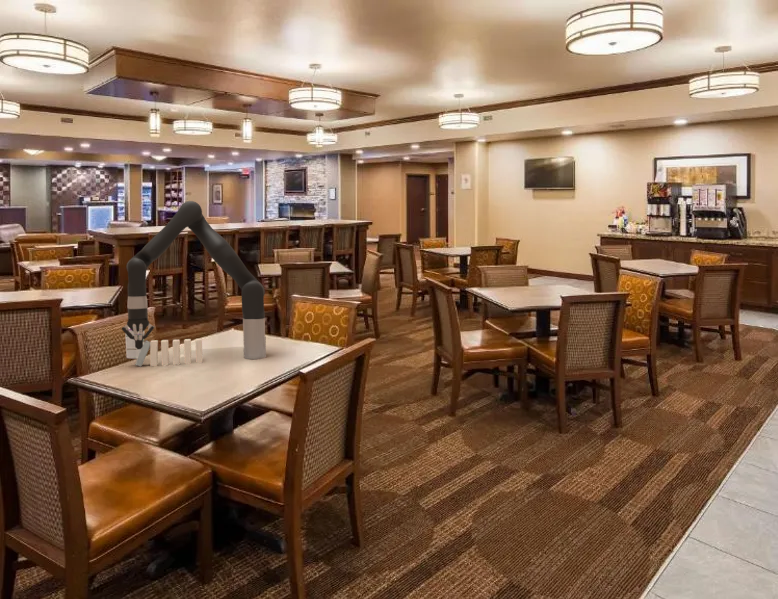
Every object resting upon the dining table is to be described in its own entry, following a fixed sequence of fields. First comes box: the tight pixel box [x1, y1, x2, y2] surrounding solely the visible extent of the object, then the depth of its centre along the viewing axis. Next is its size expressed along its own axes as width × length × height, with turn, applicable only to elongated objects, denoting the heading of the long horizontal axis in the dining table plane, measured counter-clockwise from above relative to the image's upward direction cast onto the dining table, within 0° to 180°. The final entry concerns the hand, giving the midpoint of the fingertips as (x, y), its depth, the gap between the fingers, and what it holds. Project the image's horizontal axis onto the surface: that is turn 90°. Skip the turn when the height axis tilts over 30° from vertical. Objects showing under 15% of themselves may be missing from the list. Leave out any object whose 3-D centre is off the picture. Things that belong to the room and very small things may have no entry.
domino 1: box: [134, 340, 151, 368], centre depth 245 cm, size 2×5×10 cm, turn 16°
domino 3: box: [160, 339, 170, 367], centre depth 247 cm, size 2×5×10 cm, turn 16°
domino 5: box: [183, 338, 192, 365], centre depth 250 cm, size 2×5×10 cm, turn 16°
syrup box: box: [124, 327, 146, 360], centre depth 259 cm, size 6×6×14 cm
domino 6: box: [194, 338, 203, 364], centre depth 251 cm, size 2×5×10 cm, turn 16°
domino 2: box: [149, 339, 159, 367], centre depth 246 cm, size 2×5×10 cm, turn 16°
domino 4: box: [172, 339, 181, 366], centre depth 249 cm, size 2×5×10 cm, turn 16°
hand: (139, 349), depth 244 cm, fingers closed
